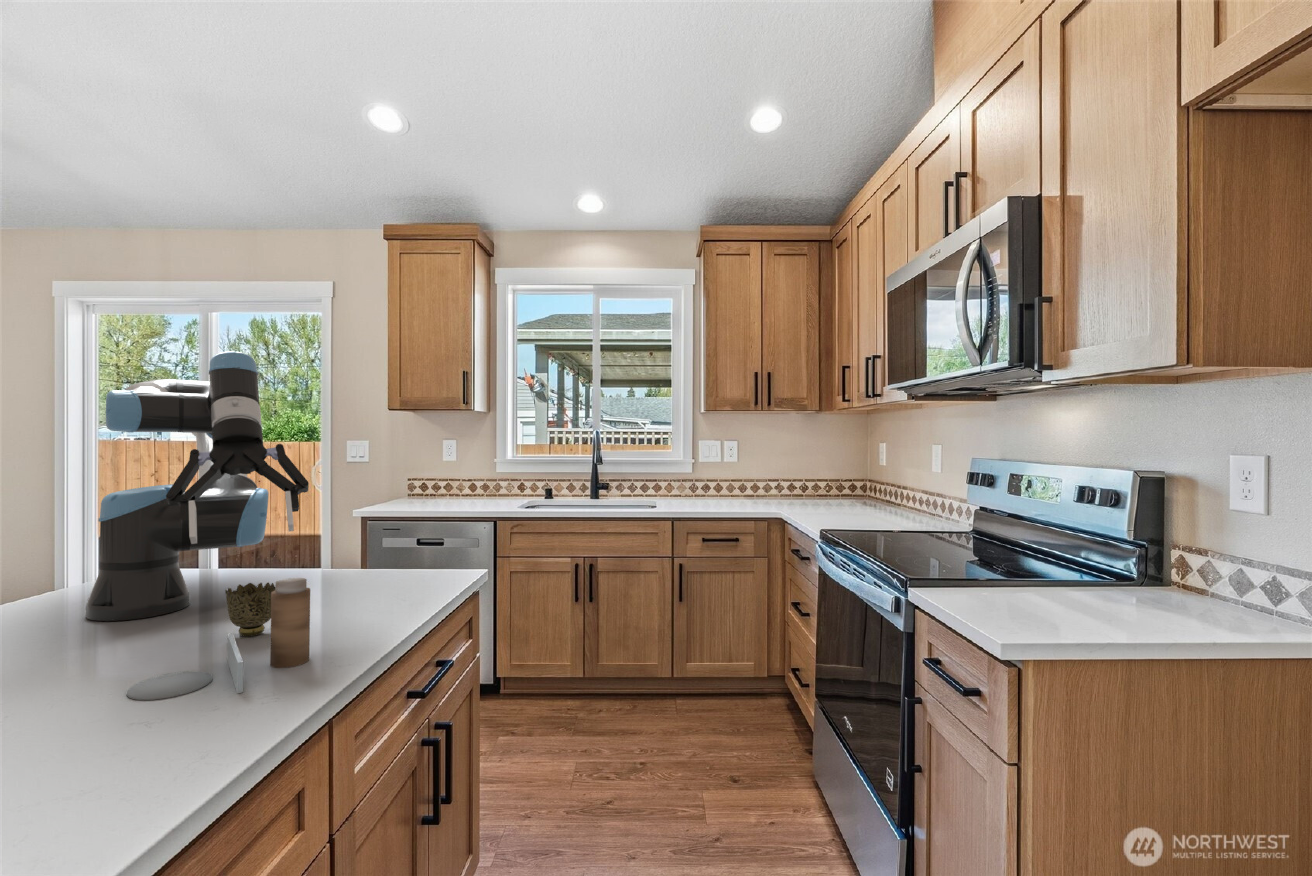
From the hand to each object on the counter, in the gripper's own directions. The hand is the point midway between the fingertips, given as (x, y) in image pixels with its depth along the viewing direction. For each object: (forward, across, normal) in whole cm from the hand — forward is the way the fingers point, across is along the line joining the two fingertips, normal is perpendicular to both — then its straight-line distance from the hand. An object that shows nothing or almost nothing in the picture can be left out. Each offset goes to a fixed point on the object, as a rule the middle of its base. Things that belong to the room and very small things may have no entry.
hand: (243, 534), depth 104 cm
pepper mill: (+24, +5, -5) cm, 25 cm away
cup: (+14, 0, +10) cm, 17 cm away
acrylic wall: (+25, -2, -7) cm, 26 cm away
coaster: (+24, -9, -8) cm, 27 cm away
